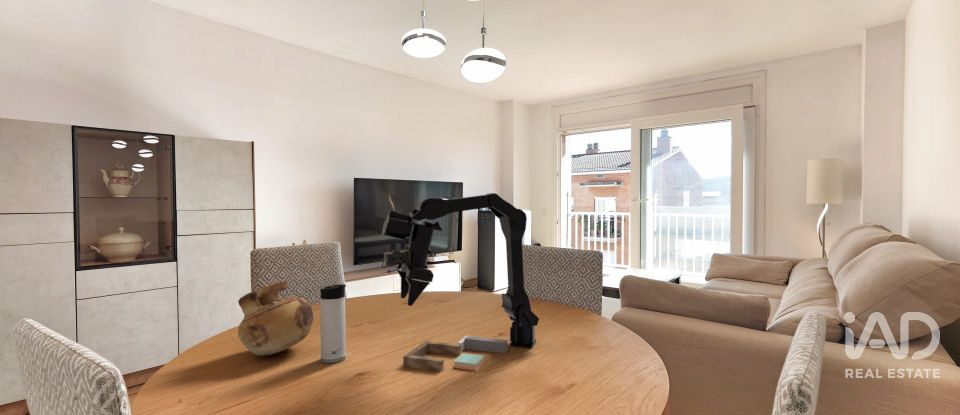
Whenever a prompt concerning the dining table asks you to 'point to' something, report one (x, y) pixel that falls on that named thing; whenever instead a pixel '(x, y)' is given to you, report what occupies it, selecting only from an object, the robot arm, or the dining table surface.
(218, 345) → the dining table surface
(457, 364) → the tile
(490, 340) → the pusher tool
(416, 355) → the bay
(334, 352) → the travel mug
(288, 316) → the clay pot
